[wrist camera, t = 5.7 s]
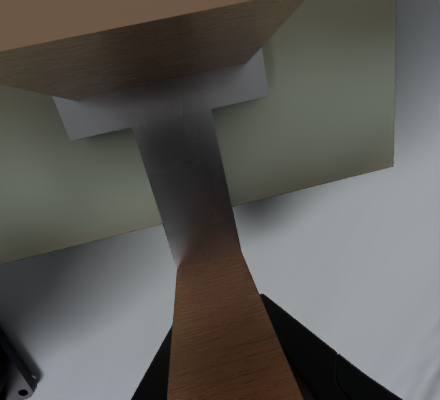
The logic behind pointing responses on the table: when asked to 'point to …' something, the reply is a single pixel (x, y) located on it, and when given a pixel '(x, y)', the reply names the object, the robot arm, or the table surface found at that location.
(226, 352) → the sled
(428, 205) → the table surface
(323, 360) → the robot arm
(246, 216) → the table surface
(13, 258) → the tunnel
